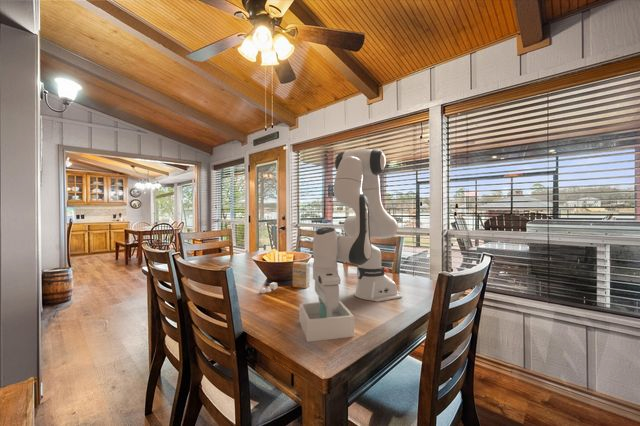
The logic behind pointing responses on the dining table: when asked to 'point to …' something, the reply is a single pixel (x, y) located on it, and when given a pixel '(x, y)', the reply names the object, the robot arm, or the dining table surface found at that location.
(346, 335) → the peg box
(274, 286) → the game pieces
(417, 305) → the dining table surface
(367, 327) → the dining table surface
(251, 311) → the dining table surface
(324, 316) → the peg
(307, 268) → the supplement box
